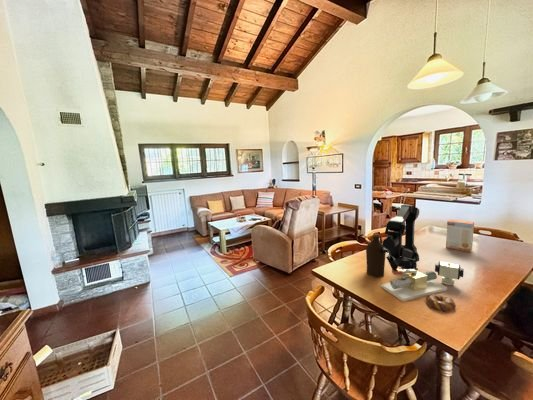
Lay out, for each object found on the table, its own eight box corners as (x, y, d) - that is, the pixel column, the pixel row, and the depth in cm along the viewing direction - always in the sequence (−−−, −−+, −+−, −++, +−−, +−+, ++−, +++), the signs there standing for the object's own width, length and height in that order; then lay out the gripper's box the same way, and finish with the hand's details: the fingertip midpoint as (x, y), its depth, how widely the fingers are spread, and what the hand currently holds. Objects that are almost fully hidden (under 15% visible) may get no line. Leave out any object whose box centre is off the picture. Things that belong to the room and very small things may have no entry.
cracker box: (472, 250, 161) (474, 222, 158) (470, 252, 158) (472, 223, 154) (447, 245, 172) (449, 219, 169) (445, 247, 169) (447, 220, 165)
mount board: (381, 287, 123) (381, 284, 123) (421, 277, 130) (422, 275, 130) (403, 301, 109) (403, 298, 109) (446, 290, 116) (447, 287, 116)
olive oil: (374, 279, 131) (374, 238, 127) (362, 271, 141) (362, 232, 137) (389, 276, 133) (390, 235, 130) (376, 268, 144) (377, 230, 140)
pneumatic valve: (434, 278, 128) (435, 258, 126) (461, 284, 120) (463, 263, 118) (433, 283, 123) (435, 262, 122) (462, 289, 116) (464, 267, 114)
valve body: (387, 286, 120) (387, 274, 119) (425, 277, 127) (426, 266, 125) (399, 295, 112) (400, 281, 111) (439, 284, 119) (440, 272, 118)
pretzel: (441, 297, 112) (441, 290, 111) (463, 310, 101) (463, 303, 101) (419, 300, 110) (420, 293, 110) (439, 314, 100) (440, 306, 99)
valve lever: (394, 275, 117) (394, 271, 117) (391, 272, 120) (391, 269, 119) (418, 274, 117) (418, 270, 117) (414, 271, 120) (415, 268, 119)
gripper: (422, 249, 109) (421, 279, 112) (400, 237, 127) (399, 262, 130) (399, 251, 109) (398, 280, 112) (380, 238, 128) (379, 263, 130)
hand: (394, 271), depth 121 cm, fingers closed
